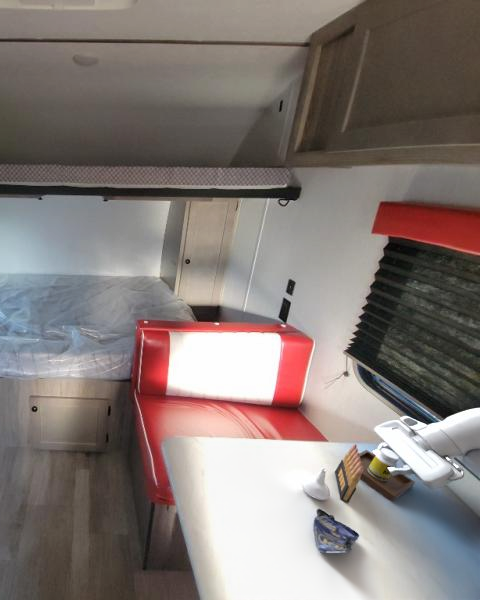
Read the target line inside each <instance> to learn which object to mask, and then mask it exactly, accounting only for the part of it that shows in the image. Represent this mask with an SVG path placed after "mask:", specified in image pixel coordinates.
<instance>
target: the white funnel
mask: <svg viewBox="0 0 480 600" xmlns="http://www.w3.org/2000/svg"><path fill="white" fill-rule="evenodd" d="M326 473H327V469H326V468H325V467H320V470H319V472H318V473H317V474H316V475H307V476H305V477H304V478H303V479H302V481H301V487H302V489H303V491H304V492H305V493H306V494H307V495H309V496H310V497H312V498H314V499H316V500H320V501H325V500H328V499H329V498H330V495H331V489H330V487H329V485H328V484H327V483H326V482H325V479H326Z"/></svg>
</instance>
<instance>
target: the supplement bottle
mask: <svg viewBox="0 0 480 600" xmlns="http://www.w3.org/2000/svg"><path fill="white" fill-rule="evenodd" d="M399 460H400V459H399V457H398V455H397V454H396V453H394V452H393V451H391V450H389V449H385V448H382V449H381V450H380V452H379V453H377V454H376V455H375V457H374V459H373V460H372V462H371V464H370V465H369V467H368V472H369V473H370V474H371V475H372V476H373V477H375V478H376V479H378V480H381V481H387V480H388V478H389V477H390V475H391V474H390V473H389V471H388V470H387V468H388V467H391V466H394V467H395V468H397V465H398V464H397V463H398V461H399Z"/></svg>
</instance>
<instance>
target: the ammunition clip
mask: <svg viewBox="0 0 480 600" xmlns="http://www.w3.org/2000/svg"><path fill="white" fill-rule="evenodd" d="M359 453H360V452H359V450H358V448H357V444H353V445H352V446H351V447H350V449H349V450H348V452H347V453H346V454H345V456H344V458H343V459H341V460H340V462H339V464H338V466H337V467H336V469H335V470H334V475H335V481H336V486H337V490H338V494H339V499H340V500H341V501H344V502H345V503H348V504H349V503H350V501H351V499H352V498H353V496H354V495H355V492H356V490H357V486H358V483H359V482H360V480H361V479H360V477H361V475H362V472H363V466H362V462H361V461H360V460H361V459H360V457H359Z"/></svg>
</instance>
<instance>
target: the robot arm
mask: <svg viewBox="0 0 480 600" xmlns="http://www.w3.org/2000/svg"><path fill="white" fill-rule="evenodd" d="M373 432H374V434H375V435H376V436H377V438H378V439H380V441H381V442H380V443H379V444H378V446H377V447H376V449H374V450H372V451H371V453H372V454H373V455H374V456H375V455H376V454H377V453H379V452H380V450H381V449H382V448H385V449H389V450H391V451H393V452H394V453H396V454H397V455H398V457H399V459H398V460H400V462H402V463H403V464H404V465H402V467H394V466H391V467H388V468H387V470H388V471H389V473H390V474H391V475H392V476H395V475H398V474H402V475H405V476H411V475H414V476H415V477H416V478H417V479H418V480H419V481H420V482H421V483H422V484H423V485H424V486H425V487H426V488H427V489H429V490H435V491H436V490H438V489H441V488H443V487H445V486H447V485H448V484H449V485H450V483H453V482H455V481H459V480H462V479H463V478H464V477H465V472H464V471H465V470H464V469H463V468H462V466H460V465H458V463H456V461H454V460H453V459H457V460H458V461H459V462H460V463H462V464H463V465H464V466H465V467H466V468H467V469H468V470H470V471H471V473H473V474H474V475H475V476H476V477H477V478H479V479H480V407H475V408H470V409H466V410H463V411H459V412H457V413H454V414H452V415H449V416H447V417H446V418H444V419H443V420H441V421H437V422H432V423H428V424H426V423H424V422H421V421H419V420H417V419H414V418H412V417H410V416H407V415H403V416H401V417H399V419H392V420H388V421H385V422H382V423H380V424H377V425H376V426H375V427H374V428H373Z"/></svg>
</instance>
